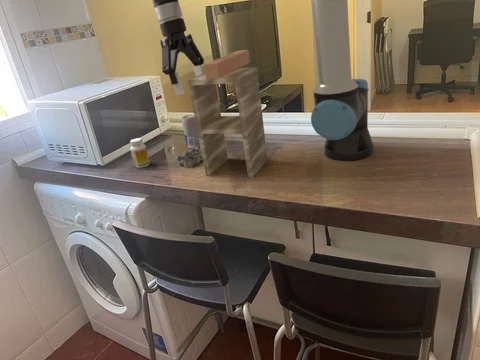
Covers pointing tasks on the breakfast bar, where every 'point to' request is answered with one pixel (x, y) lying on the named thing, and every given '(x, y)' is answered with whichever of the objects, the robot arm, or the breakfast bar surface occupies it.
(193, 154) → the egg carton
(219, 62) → the bar
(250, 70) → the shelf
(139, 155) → the supplement bottle
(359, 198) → the breakfast bar surface
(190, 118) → the energy drink
